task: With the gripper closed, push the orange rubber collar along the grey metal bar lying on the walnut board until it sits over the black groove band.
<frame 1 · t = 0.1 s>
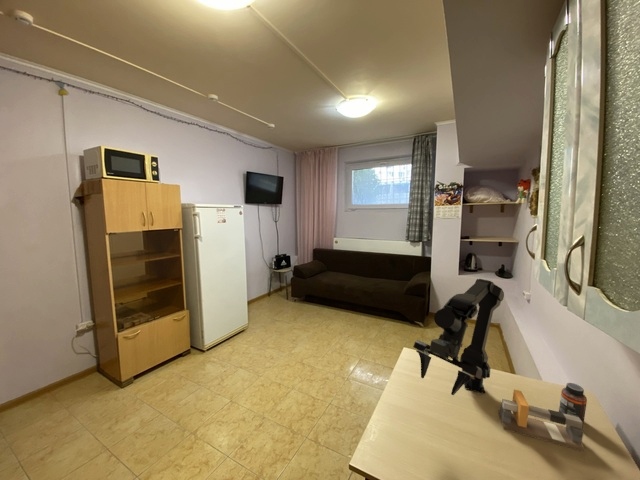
hand: (436, 386, 78), 15 cm above the table, tool tilted 30°, fingers open, 9 cm apart
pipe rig: (537, 430, 80), on the table
supplement bottle: (570, 418, 85), on the table
collar: (519, 407, 81), point 6 cm above the table, slide at 0.0 cm
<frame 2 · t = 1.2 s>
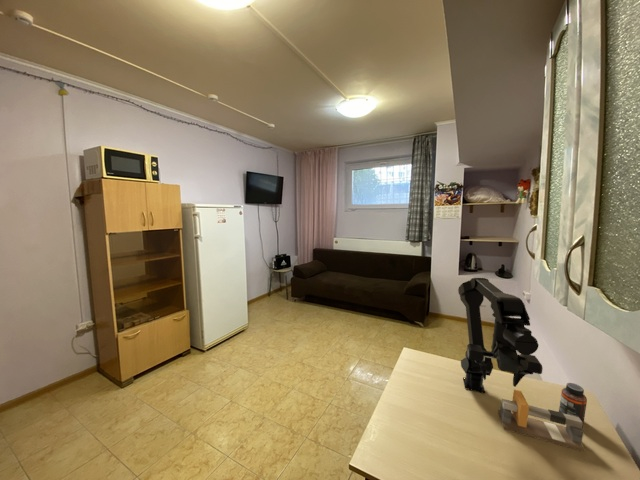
hand: (499, 382, 82), 13 cm above the table, tool pointing down, fingers open, 8 cm apart
nothing on the table moved.
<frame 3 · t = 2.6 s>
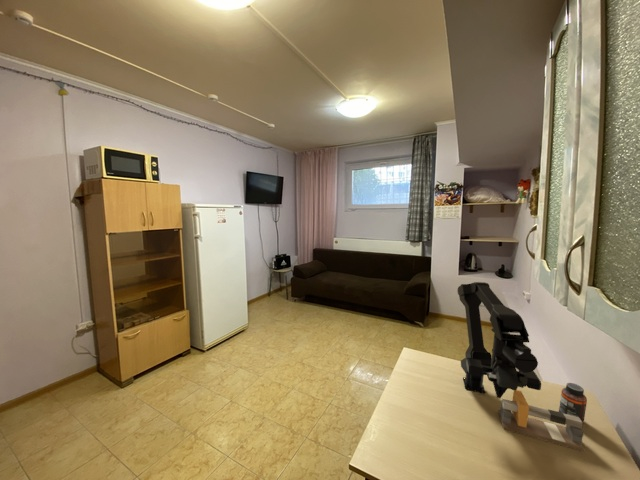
hand: (498, 397, 83), 8 cm above the table, tool pointing down, fingers closed
nothing on the table moved.
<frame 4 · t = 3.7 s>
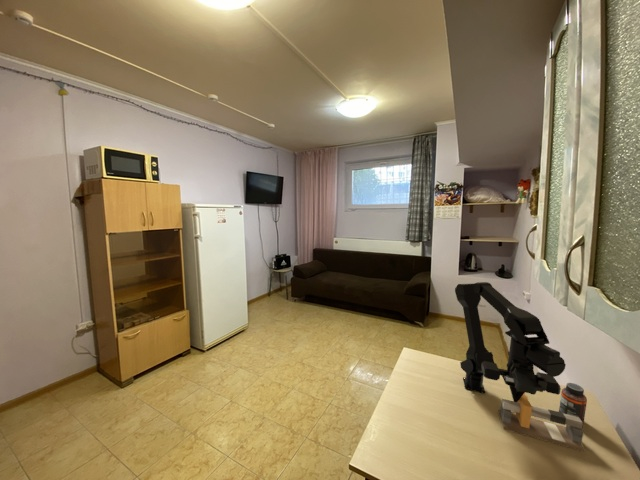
hand: (514, 401, 81), 8 cm above the table, tool pointing down, fingers closed
collar: (522, 408, 81), point 6 cm above the table, slide at 0.7 cm, touching gripper
everything else where it was.
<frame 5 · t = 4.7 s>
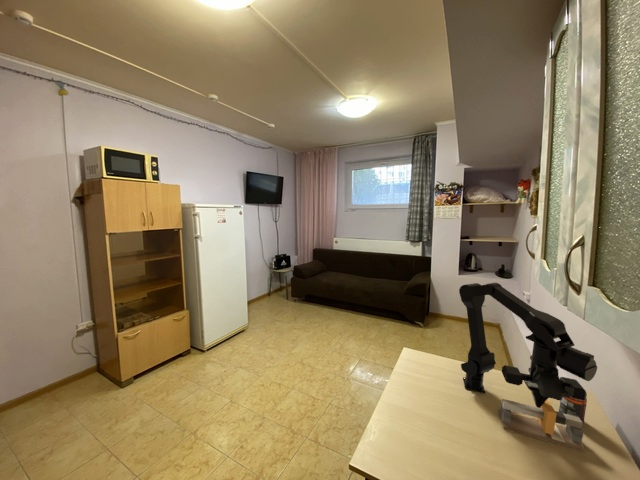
hand: (537, 406, 79), 8 cm above the table, tool pointing down, fingers closed
collar: (545, 414, 79), point 6 cm above the table, slide at 6.4 cm, touching gripper
everything else where it was.
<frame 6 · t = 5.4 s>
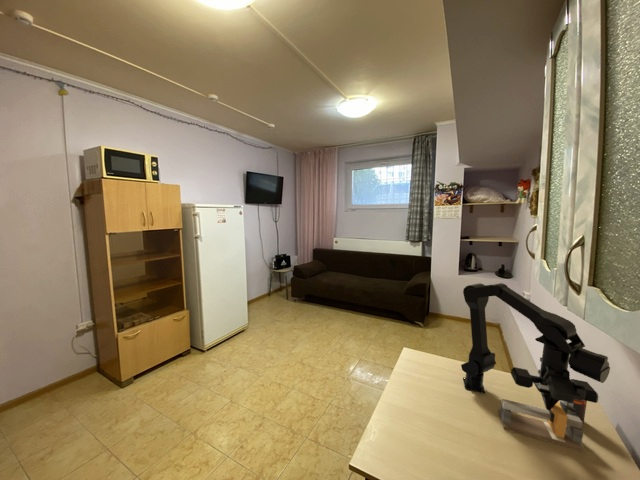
hand: (547, 409, 78), 8 cm above the table, tool pointing down, fingers closed
collar: (555, 416, 78), point 6 cm above the table, slide at 8.9 cm, touching gripper
everything else where it was.
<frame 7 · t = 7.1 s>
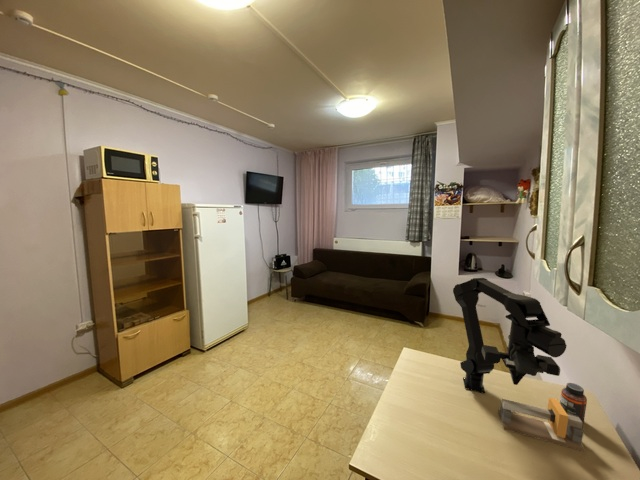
hand: (514, 383, 82), 13 cm above the table, tool pointing down, fingers closed
collar: (556, 417, 78), point 6 cm above the table, slide at 9.1 cm
everything else where it was.
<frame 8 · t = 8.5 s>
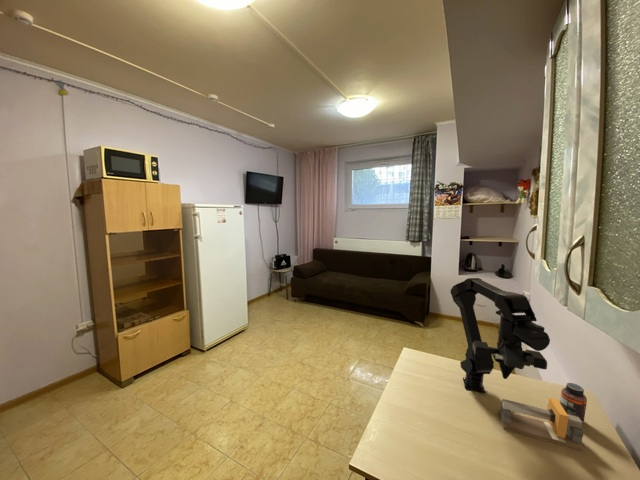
hand: (504, 378, 84), 13 cm above the table, tool pointing down, fingers closed
nothing on the table moved.
at the end: collar slide at 9.1 cm; supplement bottle moved 0.2 cm from its start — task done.
